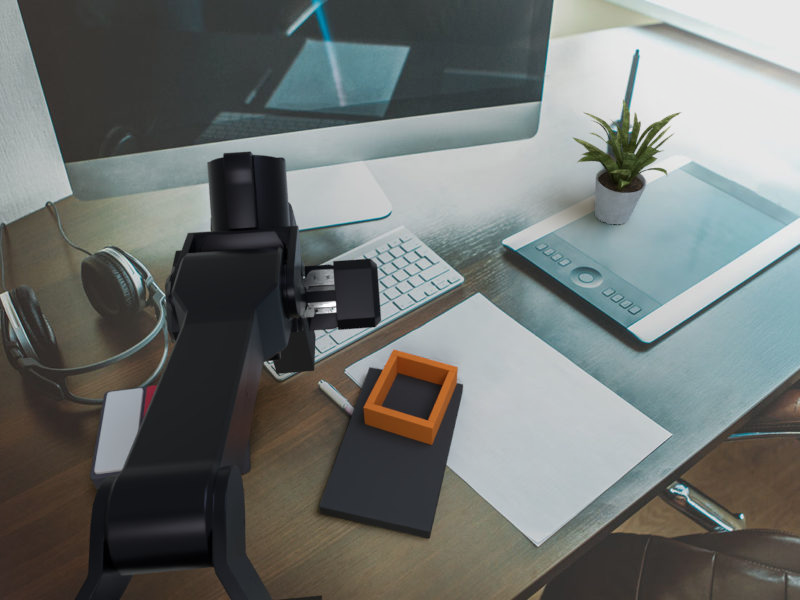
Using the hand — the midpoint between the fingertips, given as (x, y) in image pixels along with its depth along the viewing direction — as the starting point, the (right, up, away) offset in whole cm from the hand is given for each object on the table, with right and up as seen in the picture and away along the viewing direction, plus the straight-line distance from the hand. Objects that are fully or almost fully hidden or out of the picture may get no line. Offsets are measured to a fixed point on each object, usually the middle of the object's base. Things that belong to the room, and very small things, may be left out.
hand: (286, 301), depth 67 cm
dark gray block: (0, -6, +4) cm, 7 cm away
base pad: (+11, -16, +2) cm, 19 cm away
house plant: (+44, +14, +32) cm, 56 cm away
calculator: (-12, -15, +3) cm, 20 cm away
